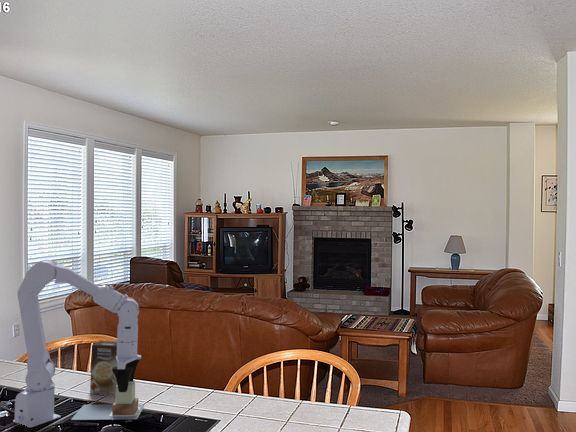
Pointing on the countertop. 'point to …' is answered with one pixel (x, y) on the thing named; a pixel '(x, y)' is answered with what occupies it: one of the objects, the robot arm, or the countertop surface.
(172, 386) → the countertop surface
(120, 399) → the sage block
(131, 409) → the walnut block
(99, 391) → the coffee box
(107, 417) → the light blue flat board
